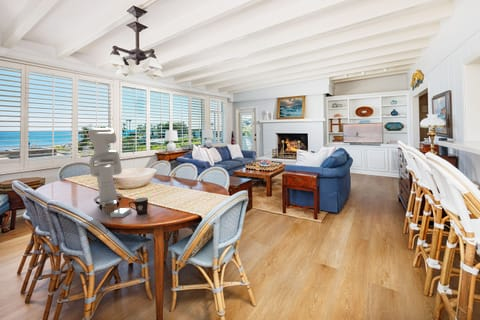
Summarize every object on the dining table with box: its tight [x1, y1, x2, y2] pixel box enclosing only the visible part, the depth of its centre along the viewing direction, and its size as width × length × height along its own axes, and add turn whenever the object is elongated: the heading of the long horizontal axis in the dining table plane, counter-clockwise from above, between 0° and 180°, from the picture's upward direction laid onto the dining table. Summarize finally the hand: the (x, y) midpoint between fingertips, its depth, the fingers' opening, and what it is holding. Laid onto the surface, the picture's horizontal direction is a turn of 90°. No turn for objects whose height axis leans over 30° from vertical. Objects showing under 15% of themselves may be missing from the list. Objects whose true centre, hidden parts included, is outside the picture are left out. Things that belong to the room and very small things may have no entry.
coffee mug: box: [128, 197, 149, 216], centre depth 153 cm, size 12×9×10 cm
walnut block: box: [104, 203, 115, 215], centre depth 157 cm, size 5×5×6 cm
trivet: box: [109, 207, 132, 218], centre depth 153 cm, size 9×9×3 cm
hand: (109, 208), depth 156 cm, fingers open, 9 cm apart
